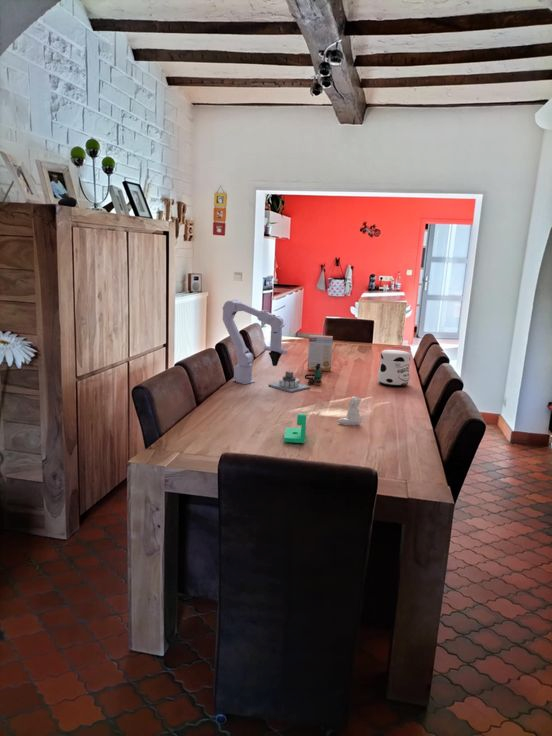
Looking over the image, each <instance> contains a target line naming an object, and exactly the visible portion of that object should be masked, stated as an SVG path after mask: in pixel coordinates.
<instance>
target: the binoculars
mask: <svg viewBox="0 0 552 736" xmlns="http://www.w3.org/2000/svg"><path fill="white" fill-rule="evenodd" d="M315 367H316V370H315V371H314V374H313V373H312V374H311V373H310V374H305V375H304V379H305V380H308V381H307V385H311V384H313V385H314V384H315V385H317V386H321V384H322V383H323V382H322V377H323V375H324V374H323V372H324V371H321V368H320V364H317V366H315ZM322 374H323V375H322Z"/></svg>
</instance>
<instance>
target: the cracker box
mask: <svg viewBox="0 0 552 736" xmlns="http://www.w3.org/2000/svg"><path fill="white" fill-rule="evenodd" d="M333 337H334V336H333V335H318V334H316V335H315V334H309V337H308V351H307V352H308V353H307V355H308V356H307V371H310V370H316V367H315V366H317V364H320V368H321V372H327V371H332V359H333V357H332V355H333V340H334V339H333Z"/></svg>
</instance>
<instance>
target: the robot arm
mask: <svg viewBox="0 0 552 736" xmlns="http://www.w3.org/2000/svg"><path fill="white" fill-rule="evenodd" d="M238 312H245V313H248V315H249V314H250V315H252V316H255V317H257V320H258V321H259V322H262V323H263V324H265V325H268V326H269V327H270V344H269V345H270V346H268V345H266V346H264V351H268V355H269V357H270V359H271V365H272V366H273V367H276V366H278V363H279V361H280V358H281V357H282V355H287V354H288V350H287V349H284V348H282V337H283V336H282V335H283V326H284V319H283V318H282V317H281V316H280V315H276V314H275V313H274V314H273V313H271V312H268V310H267V309H262V310H259V309H257V308H255V307H252V306H250V305H249V304H247V303H245V302H243V301H241V300H238V299H232V300H227V301H225V302H224V304H223V306H222V321H223V323H224V326H225V328H226V330H227V332H228V335H229V337H230V339H231V341H232V343H233V346H234V348H235V350H236V351H235V352H236V353H235V354H236V358H237V360H236V361H237V364H236V365H235V366H234V369H233V379H232V381H233V382H235V381H236V383H239V384H243V385H247V384H253V383H255V382H256V381H255V380H252V379H253V378H252V377H253V373H252V372H253V364H252V363H253V361H254V355H253V353H252V352H250V350H249V348H248V347H247V346H246V345H245V342H244V340H243V338H242V336H241V333H240V330H239V329H238V326H237V324H236V322H235V320H234V318H235V316H236V314H237V313H238Z"/></svg>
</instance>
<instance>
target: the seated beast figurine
mask: <svg viewBox="0 0 552 736" xmlns="http://www.w3.org/2000/svg"><path fill="white" fill-rule="evenodd" d="M361 401H362V398H361V397H360V398H359V397H357V396H352V397H351V399H350V400H349V403H348V406H349V407H348V409H347V413H346V416H345V417H341V418H339V419H338V420H337V423H340V424H339V425H341V424H346V425H345V426H351V425H353V426H352V427H355V426H356V427H357V426H360V425H361V423H362V420H363V419H362V416H361V414H360V410H359V407H358V406H359V405H360V403H361Z"/></svg>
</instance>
